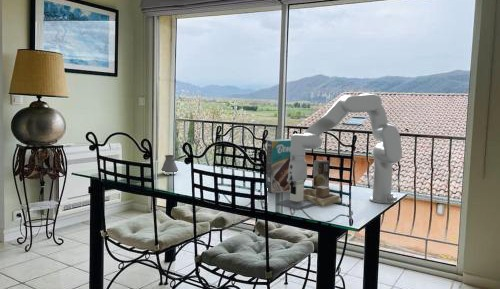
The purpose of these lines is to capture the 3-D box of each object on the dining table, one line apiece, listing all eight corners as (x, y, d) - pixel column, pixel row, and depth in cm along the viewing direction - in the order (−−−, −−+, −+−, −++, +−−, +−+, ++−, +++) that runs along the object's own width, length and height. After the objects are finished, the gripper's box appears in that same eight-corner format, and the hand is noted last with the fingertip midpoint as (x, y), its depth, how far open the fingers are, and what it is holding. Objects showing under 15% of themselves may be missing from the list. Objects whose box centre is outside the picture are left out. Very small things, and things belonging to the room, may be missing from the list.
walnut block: (328, 202, 234) (329, 187, 233) (322, 203, 231) (323, 188, 230) (321, 200, 238) (322, 185, 237) (315, 201, 235) (316, 187, 234)
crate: (339, 201, 235) (339, 195, 234) (322, 206, 225) (323, 199, 225) (307, 194, 251) (308, 188, 250) (291, 197, 242) (291, 191, 241)
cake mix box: (270, 193, 251) (271, 141, 247) (266, 191, 257) (267, 140, 253) (303, 190, 260) (305, 139, 256) (298, 188, 266) (300, 138, 262)
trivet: (315, 205, 228) (315, 202, 228) (297, 209, 218) (297, 207, 218) (295, 199, 238) (295, 197, 238) (277, 204, 229) (277, 201, 229)
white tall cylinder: (303, 200, 228) (304, 177, 226) (296, 201, 224) (297, 178, 223) (296, 198, 232) (296, 175, 230) (289, 199, 228) (290, 177, 227)
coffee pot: (157, 174, 298) (157, 152, 296) (168, 171, 308) (168, 150, 306) (182, 178, 288) (182, 155, 286) (193, 175, 298) (193, 153, 296)
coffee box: (327, 186, 272) (328, 160, 270) (328, 188, 266) (329, 162, 264) (312, 185, 273) (313, 159, 271) (313, 187, 267) (314, 161, 265)
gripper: (291, 160, 217) (290, 196, 219) (314, 157, 228) (312, 191, 230) (280, 158, 222) (280, 194, 225) (303, 155, 233) (302, 189, 236)
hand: (296, 192), depth 227 cm, fingers closed on white tall cylinder, 4 cm apart
